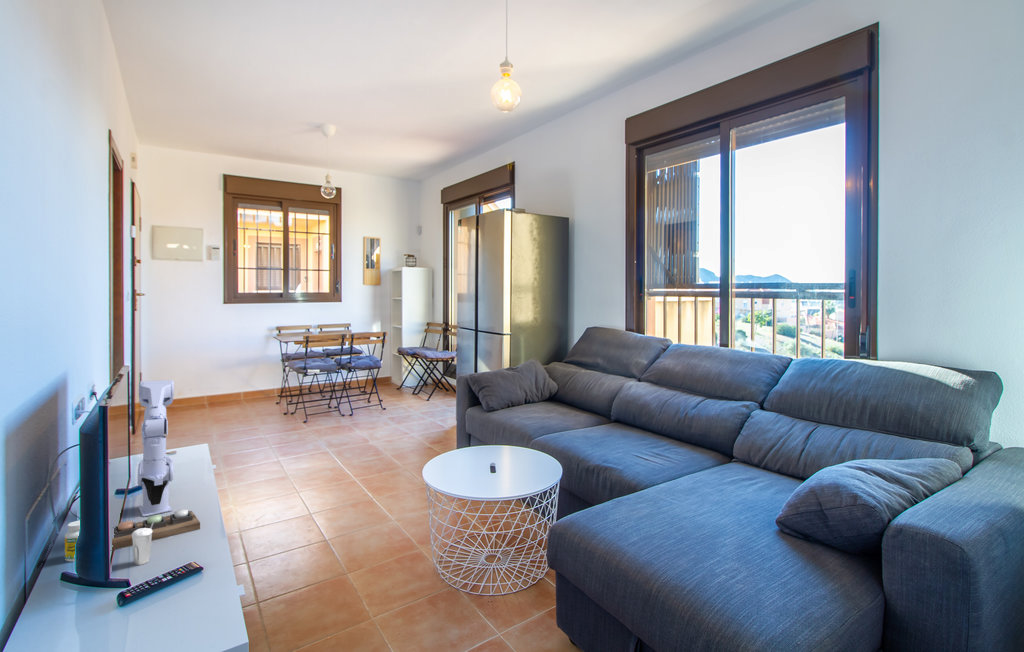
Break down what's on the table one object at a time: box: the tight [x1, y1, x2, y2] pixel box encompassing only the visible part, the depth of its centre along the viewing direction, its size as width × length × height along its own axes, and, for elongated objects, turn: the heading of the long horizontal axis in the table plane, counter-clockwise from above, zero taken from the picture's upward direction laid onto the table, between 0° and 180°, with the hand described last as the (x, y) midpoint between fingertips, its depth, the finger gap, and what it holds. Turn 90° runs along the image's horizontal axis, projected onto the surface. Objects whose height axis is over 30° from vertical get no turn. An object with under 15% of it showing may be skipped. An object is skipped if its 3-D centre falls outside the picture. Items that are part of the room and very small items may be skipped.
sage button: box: [146, 514, 162, 525], centre depth 154 cm, size 4×4×2 cm
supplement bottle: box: [64, 520, 80, 562], centre depth 138 cm, size 5×5×10 cm
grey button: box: [173, 508, 189, 519], centre depth 159 cm, size 4×4×2 cm
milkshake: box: [132, 522, 154, 566], centre depth 136 cm, size 5×5×10 cm
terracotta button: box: [117, 520, 134, 531], centre depth 149 cm, size 4×4×2 cm
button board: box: [111, 510, 201, 551], centre depth 154 cm, size 12×22×4 cm, turn 133°
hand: (154, 502), depth 154 cm, fingers open, 4 cm apart
